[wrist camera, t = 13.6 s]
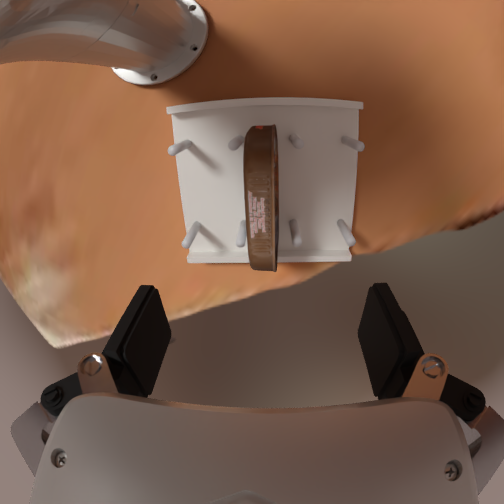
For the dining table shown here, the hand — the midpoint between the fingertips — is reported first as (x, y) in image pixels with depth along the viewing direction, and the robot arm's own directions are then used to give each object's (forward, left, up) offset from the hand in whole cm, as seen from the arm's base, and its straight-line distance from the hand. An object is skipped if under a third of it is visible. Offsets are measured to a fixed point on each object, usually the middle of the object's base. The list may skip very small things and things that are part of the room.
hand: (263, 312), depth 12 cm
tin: (+1, 0, -21) cm, 21 cm away
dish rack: (0, 0, -22) cm, 22 cm away
